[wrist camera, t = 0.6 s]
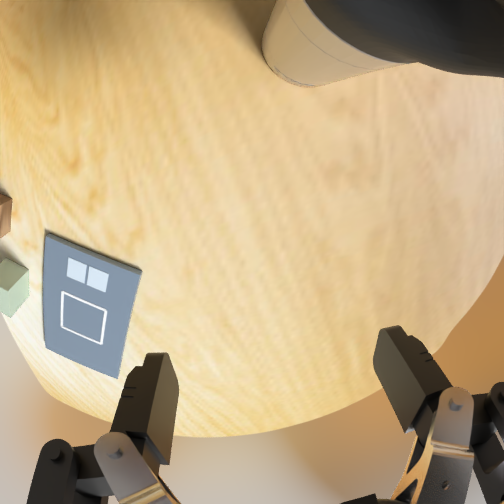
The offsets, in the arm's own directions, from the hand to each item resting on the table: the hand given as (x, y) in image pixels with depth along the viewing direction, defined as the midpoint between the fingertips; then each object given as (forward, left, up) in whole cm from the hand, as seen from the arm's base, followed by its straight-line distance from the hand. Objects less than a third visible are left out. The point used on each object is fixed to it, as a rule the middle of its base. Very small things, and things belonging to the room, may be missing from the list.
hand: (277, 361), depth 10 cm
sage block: (+24, -28, -24) cm, 44 cm away
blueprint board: (+25, -15, -23) cm, 37 cm away
